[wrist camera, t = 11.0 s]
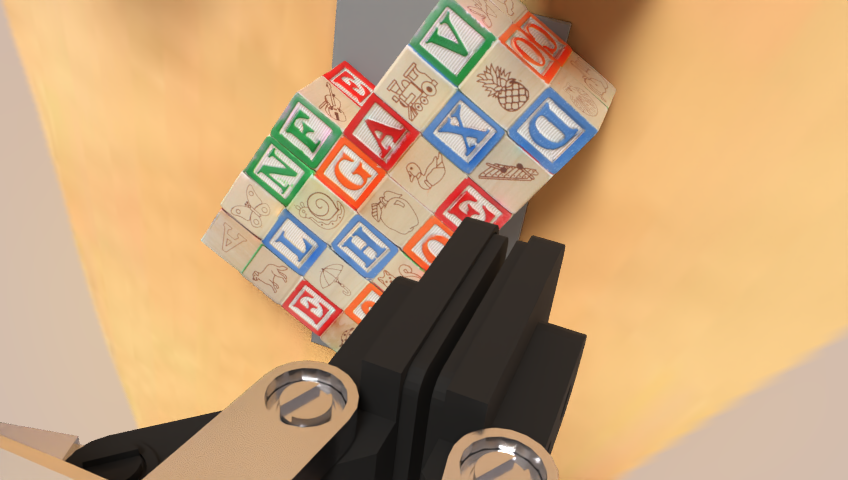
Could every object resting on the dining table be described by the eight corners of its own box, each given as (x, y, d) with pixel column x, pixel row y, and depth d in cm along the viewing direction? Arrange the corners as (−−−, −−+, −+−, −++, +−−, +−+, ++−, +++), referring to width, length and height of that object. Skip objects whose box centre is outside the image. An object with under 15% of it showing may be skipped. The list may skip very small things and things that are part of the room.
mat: (571, 23, 39) (570, 25, 39) (480, 397, 53) (479, 401, 53) (342, -32, 42) (339, -31, 42) (313, 338, 56) (311, 341, 56)
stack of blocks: (622, 88, 40) (438, -78, 39) (603, 134, 35) (391, -56, 34) (393, 315, 52) (250, 193, 51) (355, 373, 47) (195, 239, 46)
